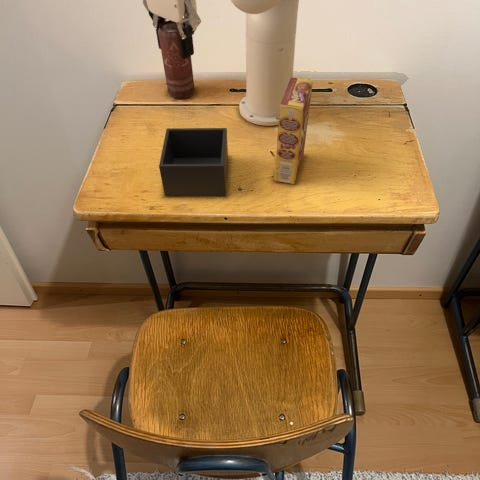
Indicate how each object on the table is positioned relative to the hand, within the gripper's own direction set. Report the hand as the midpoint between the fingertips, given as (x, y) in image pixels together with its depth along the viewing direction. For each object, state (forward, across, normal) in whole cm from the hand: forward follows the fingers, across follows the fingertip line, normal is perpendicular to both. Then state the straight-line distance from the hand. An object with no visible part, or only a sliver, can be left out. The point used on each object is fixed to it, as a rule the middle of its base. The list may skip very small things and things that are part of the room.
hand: (176, 50), depth 98 cm
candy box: (+9, -36, +6) cm, 37 cm away
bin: (+9, -24, +19) cm, 32 cm away
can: (+9, 0, 0) cm, 9 cm away
